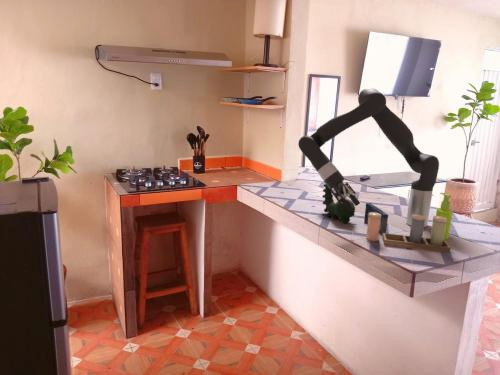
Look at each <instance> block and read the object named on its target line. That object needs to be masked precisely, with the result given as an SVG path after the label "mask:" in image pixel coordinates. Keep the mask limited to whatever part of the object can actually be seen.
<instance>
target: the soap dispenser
mask: <svg viewBox="0 0 500 375" xmlns="http://www.w3.org/2000/svg"><path fill="white" fill-rule="evenodd" d="M439 195H442V196H444V198H443V200H442V201H441V203H440V208H436V214H435V216H442V217H445V218H447V222H446V228H445V234H444V240H446V241H447V240H448V239H449V237H450V236H449V235H450V232H451V231H450V230H451V224H452V218H453V212H454V211H452V210H450V208H451V202H450V198H451V197H452V195H451V194H449V192H448V193H447V192H440V194H439Z"/></svg>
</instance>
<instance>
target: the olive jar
mask: <svg viewBox="0 0 500 375" xmlns="http://www.w3.org/2000/svg"><path fill="white" fill-rule="evenodd" d="M446 222H447V218H445V217H442V216H436V215H433V217H432V224H431V231H430V237H429V238H430V243H429V245H437V246H443V240H444V234H445V228H446Z"/></svg>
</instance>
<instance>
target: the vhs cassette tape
mask: <svg viewBox="0 0 500 375" xmlns="http://www.w3.org/2000/svg"><path fill="white" fill-rule="evenodd" d="M370 212H375V213H379V214H381V219H380V227H379V234H380V235H383V233H387V229H388V219H389V214H387V213H386V212H385V211H383V210H382V209H380V208H378V207H377V206H376V205H375V204H373V203H371V202H366V203H365V211H364V222H363V224H364V225H368V218H369V217H368V215H369V213H370Z"/></svg>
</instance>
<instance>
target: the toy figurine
mask: <svg viewBox="0 0 500 375" xmlns="http://www.w3.org/2000/svg"><path fill="white" fill-rule="evenodd" d="M323 187H324V189H322V192H323V193H324V194H323V195H322V196H321V197H322V198H324V201H322V205H325V208H324V210H323V212H324V213H326V216H327V217H330V218H331V219H336V218H340V221H341V223H343V224H347V223H350V221H351V218H352V217H355V212H356V207H355V205H354V203H353V202H352V201H351V199H349V198H347V200H348V201H349V202H350V204H351V205H352V206H353V208H352V209H350V210H348V209H347V208H346V207H345V205H344V204H343V203H341V202H340V203H339V202H338V201H336V202H334V201H335V200H334V199H333V198H334V195H333V194H332V192H331V191H332V190H333V189H329V187H328V186H327V185H326V183H325V184H323Z"/></svg>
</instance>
